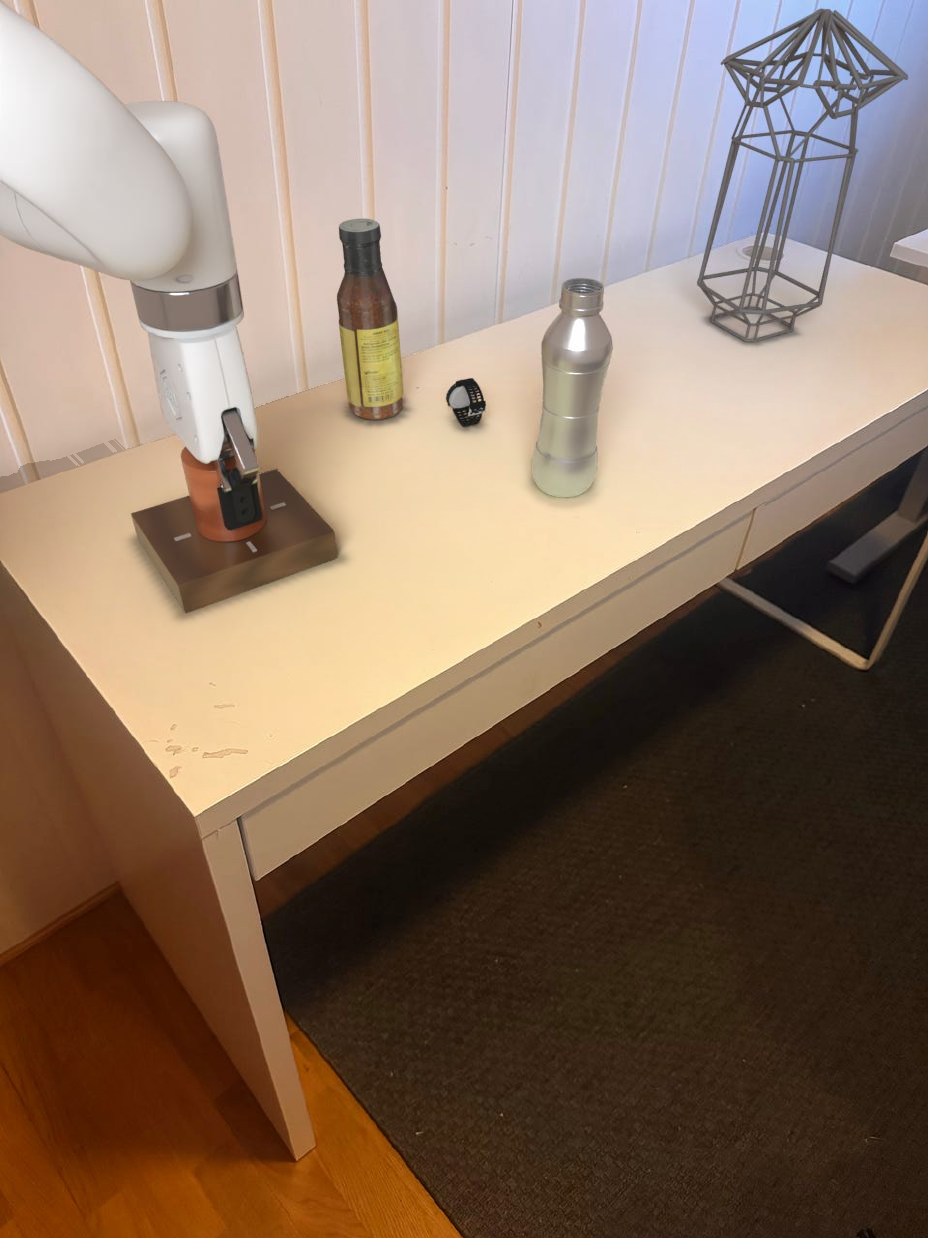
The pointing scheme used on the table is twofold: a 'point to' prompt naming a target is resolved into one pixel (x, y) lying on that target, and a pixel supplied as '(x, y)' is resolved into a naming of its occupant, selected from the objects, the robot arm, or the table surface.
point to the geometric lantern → (838, 28)
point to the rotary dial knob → (214, 499)
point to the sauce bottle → (368, 325)
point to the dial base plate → (234, 546)
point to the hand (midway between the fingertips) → (227, 502)
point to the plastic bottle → (572, 391)
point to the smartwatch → (466, 401)
